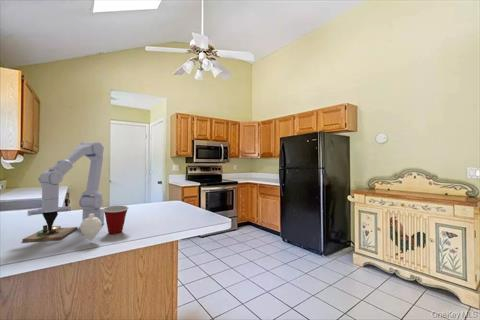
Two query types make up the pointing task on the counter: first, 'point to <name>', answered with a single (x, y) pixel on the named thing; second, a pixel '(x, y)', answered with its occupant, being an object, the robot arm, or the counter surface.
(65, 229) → the dial board
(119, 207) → the plastic cup
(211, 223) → the counter surface
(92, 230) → the cream vase
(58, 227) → the dial
